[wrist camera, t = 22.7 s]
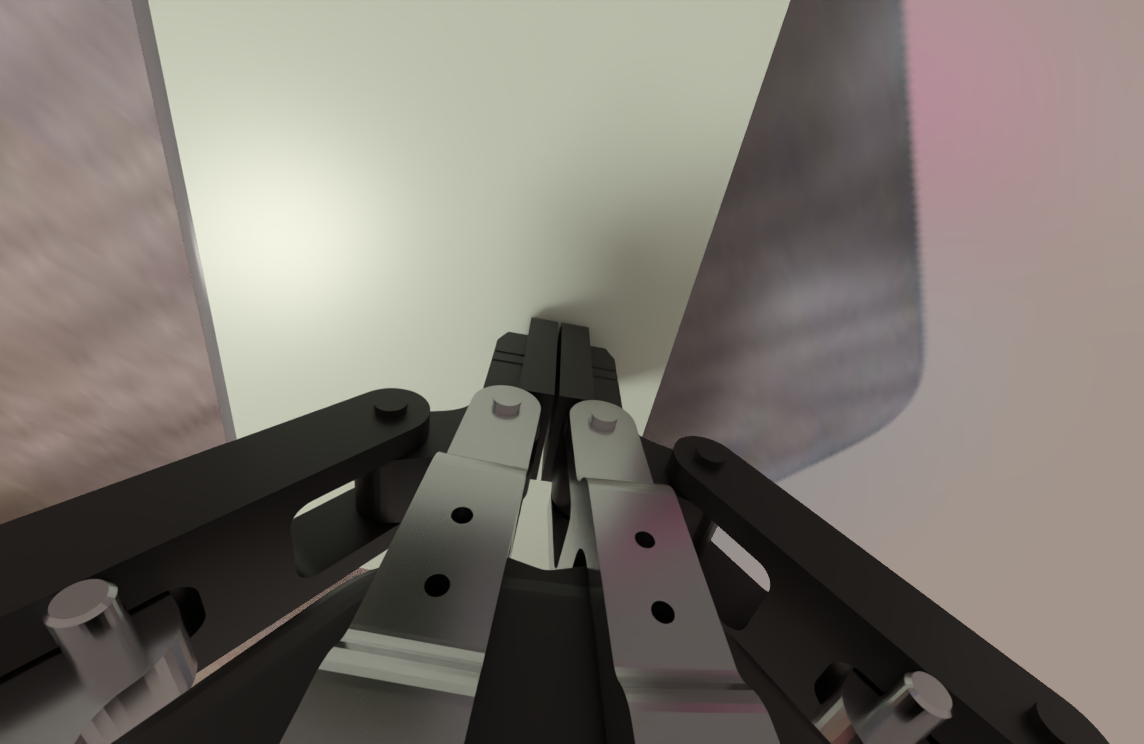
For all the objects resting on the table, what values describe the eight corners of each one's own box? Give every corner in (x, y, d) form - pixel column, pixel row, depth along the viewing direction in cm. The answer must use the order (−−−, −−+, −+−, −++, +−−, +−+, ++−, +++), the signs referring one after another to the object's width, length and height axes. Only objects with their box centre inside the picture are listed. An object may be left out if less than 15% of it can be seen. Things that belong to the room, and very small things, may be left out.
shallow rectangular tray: (584, 476, 24) (589, 561, 19) (297, 436, 22) (233, 518, 18) (725, -29, 14) (796, -83, 10) (225, -160, 12) (45, -296, 8)
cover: (585, 583, 19) (584, 606, 18) (275, 529, 18) (259, 550, 17) (815, -120, 9) (839, -145, 8) (134, -296, 8) (78, -343, 7)
